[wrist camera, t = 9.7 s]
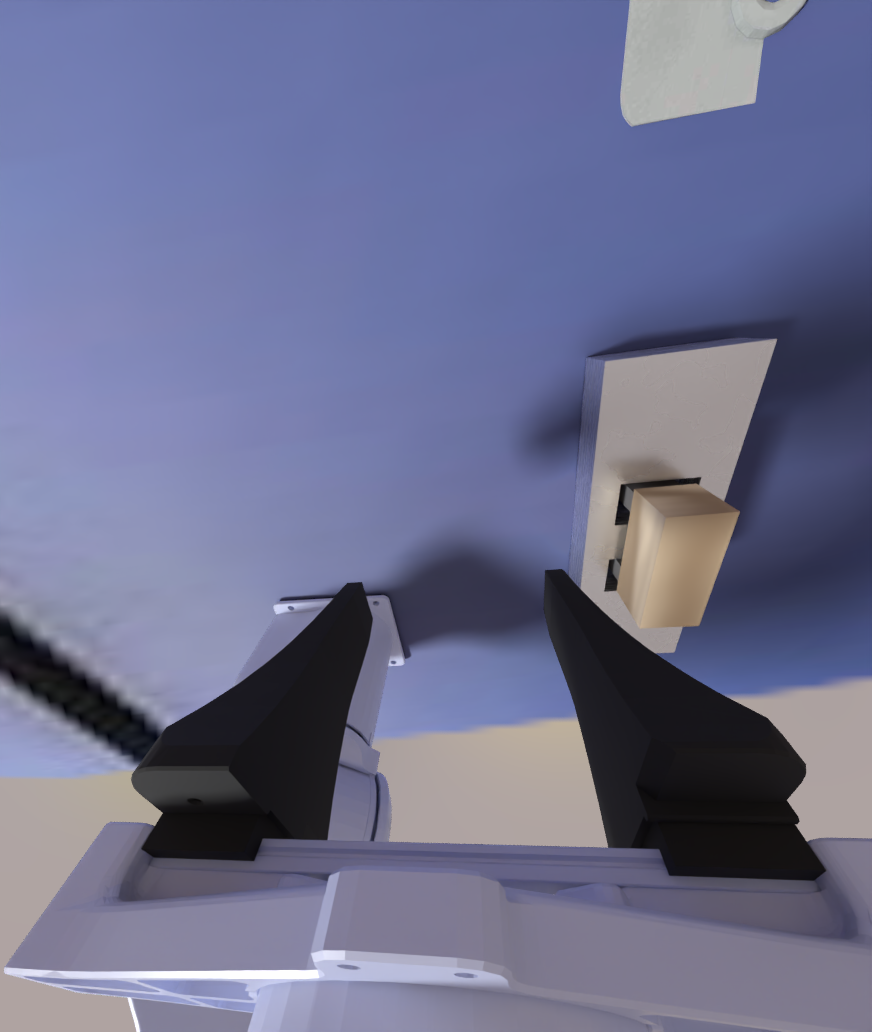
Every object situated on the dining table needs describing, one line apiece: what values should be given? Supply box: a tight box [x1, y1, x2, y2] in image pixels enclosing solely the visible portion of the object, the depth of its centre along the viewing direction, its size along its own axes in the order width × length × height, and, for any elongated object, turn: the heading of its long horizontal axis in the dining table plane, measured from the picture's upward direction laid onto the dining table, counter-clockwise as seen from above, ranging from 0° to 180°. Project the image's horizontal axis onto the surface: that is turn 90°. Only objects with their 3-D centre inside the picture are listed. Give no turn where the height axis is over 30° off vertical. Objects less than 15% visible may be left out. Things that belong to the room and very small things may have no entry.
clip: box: [608, 479, 740, 629], centre depth 19 cm, size 3×7×6 cm, turn 8°
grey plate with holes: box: [568, 338, 777, 653], centre depth 20 cm, size 7×20×2 cm, turn 7°
